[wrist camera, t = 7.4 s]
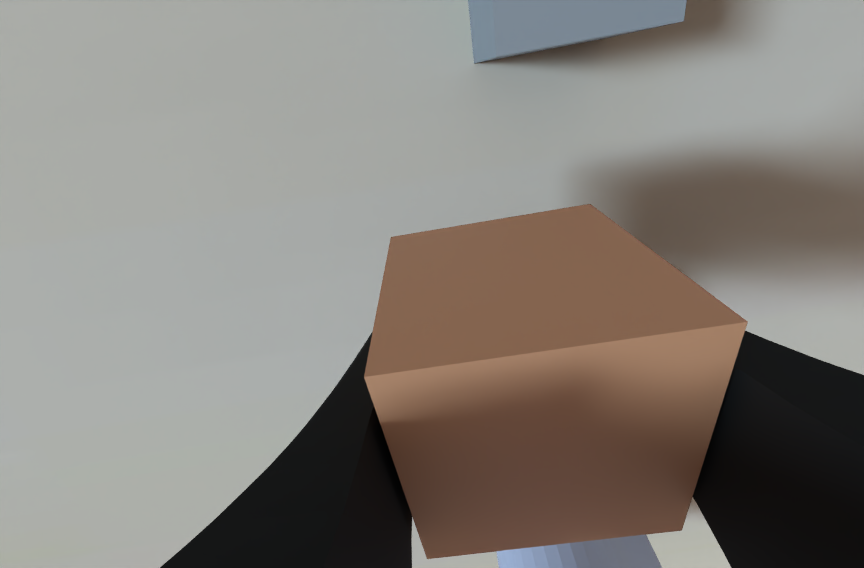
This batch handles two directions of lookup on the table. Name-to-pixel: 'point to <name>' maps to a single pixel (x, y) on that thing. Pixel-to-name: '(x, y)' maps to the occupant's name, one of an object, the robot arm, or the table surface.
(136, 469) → the table surface
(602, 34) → the slate block
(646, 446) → the orange block
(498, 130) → the table surface
